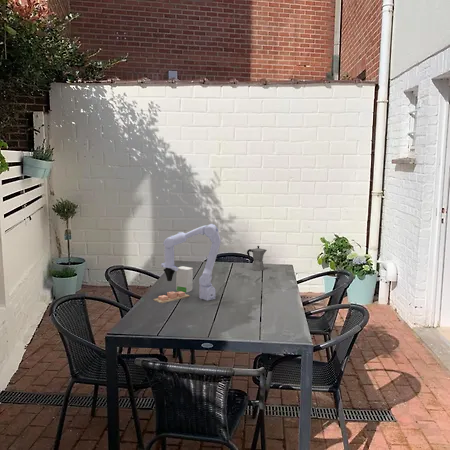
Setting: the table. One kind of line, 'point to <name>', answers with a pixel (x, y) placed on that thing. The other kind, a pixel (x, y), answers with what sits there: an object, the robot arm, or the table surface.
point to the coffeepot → (257, 258)
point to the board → (171, 299)
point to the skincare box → (184, 279)
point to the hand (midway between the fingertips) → (169, 280)
